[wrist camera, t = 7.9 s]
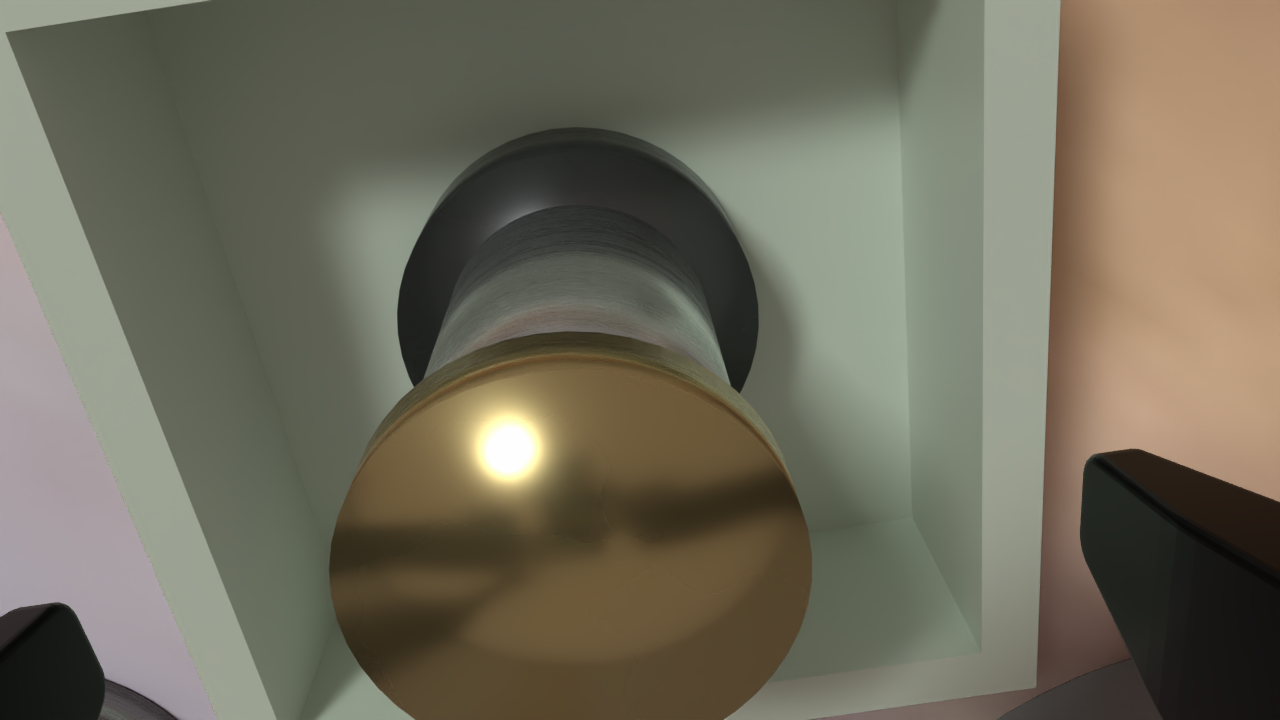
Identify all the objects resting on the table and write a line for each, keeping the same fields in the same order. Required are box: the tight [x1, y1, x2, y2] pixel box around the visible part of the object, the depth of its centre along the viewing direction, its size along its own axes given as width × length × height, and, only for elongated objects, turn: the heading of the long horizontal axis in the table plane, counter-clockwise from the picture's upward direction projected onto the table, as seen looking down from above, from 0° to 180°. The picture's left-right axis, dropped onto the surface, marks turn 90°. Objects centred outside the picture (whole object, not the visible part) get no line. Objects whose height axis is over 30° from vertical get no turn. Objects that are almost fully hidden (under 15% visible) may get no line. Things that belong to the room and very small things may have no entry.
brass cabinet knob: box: [329, 127, 812, 720], centre depth 12 cm, size 5×5×7 cm
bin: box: [0, 0, 1061, 720], centre depth 14 cm, size 12×12×4 cm
